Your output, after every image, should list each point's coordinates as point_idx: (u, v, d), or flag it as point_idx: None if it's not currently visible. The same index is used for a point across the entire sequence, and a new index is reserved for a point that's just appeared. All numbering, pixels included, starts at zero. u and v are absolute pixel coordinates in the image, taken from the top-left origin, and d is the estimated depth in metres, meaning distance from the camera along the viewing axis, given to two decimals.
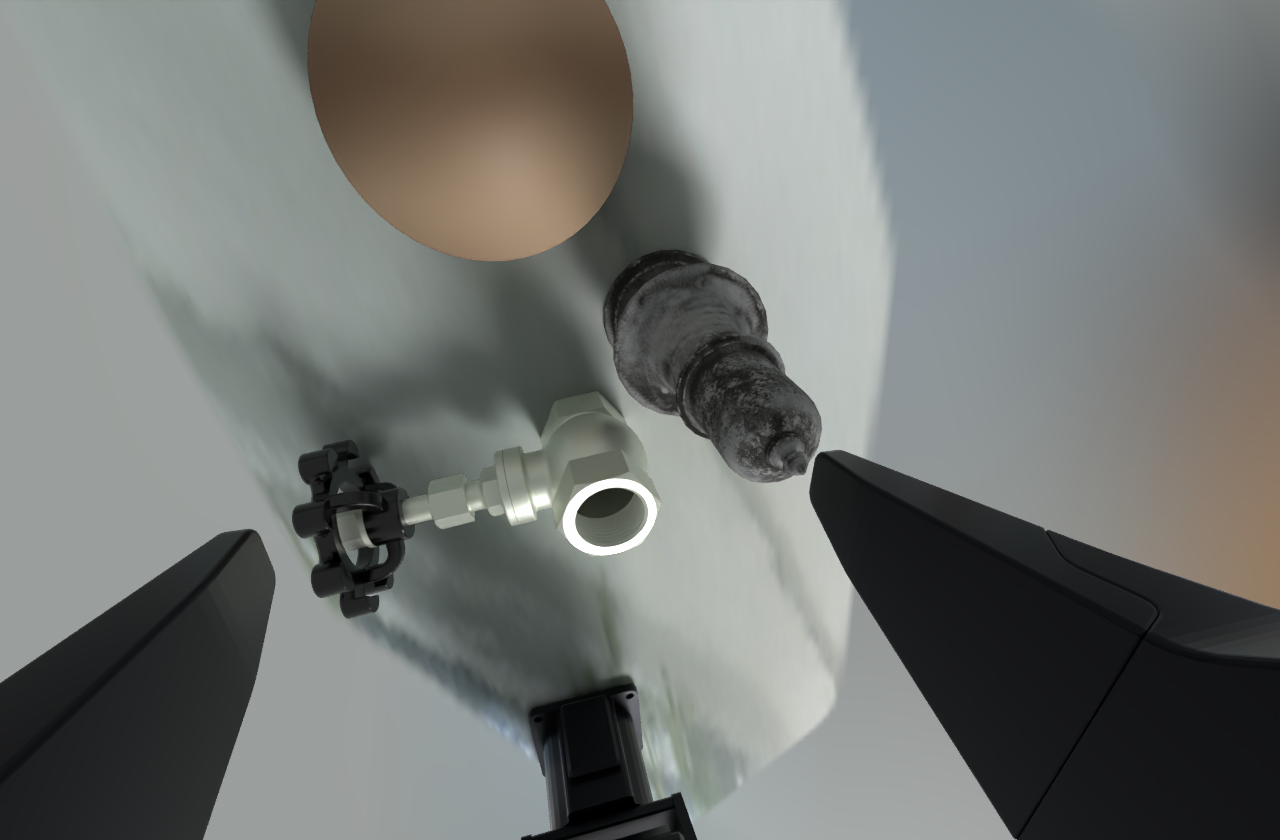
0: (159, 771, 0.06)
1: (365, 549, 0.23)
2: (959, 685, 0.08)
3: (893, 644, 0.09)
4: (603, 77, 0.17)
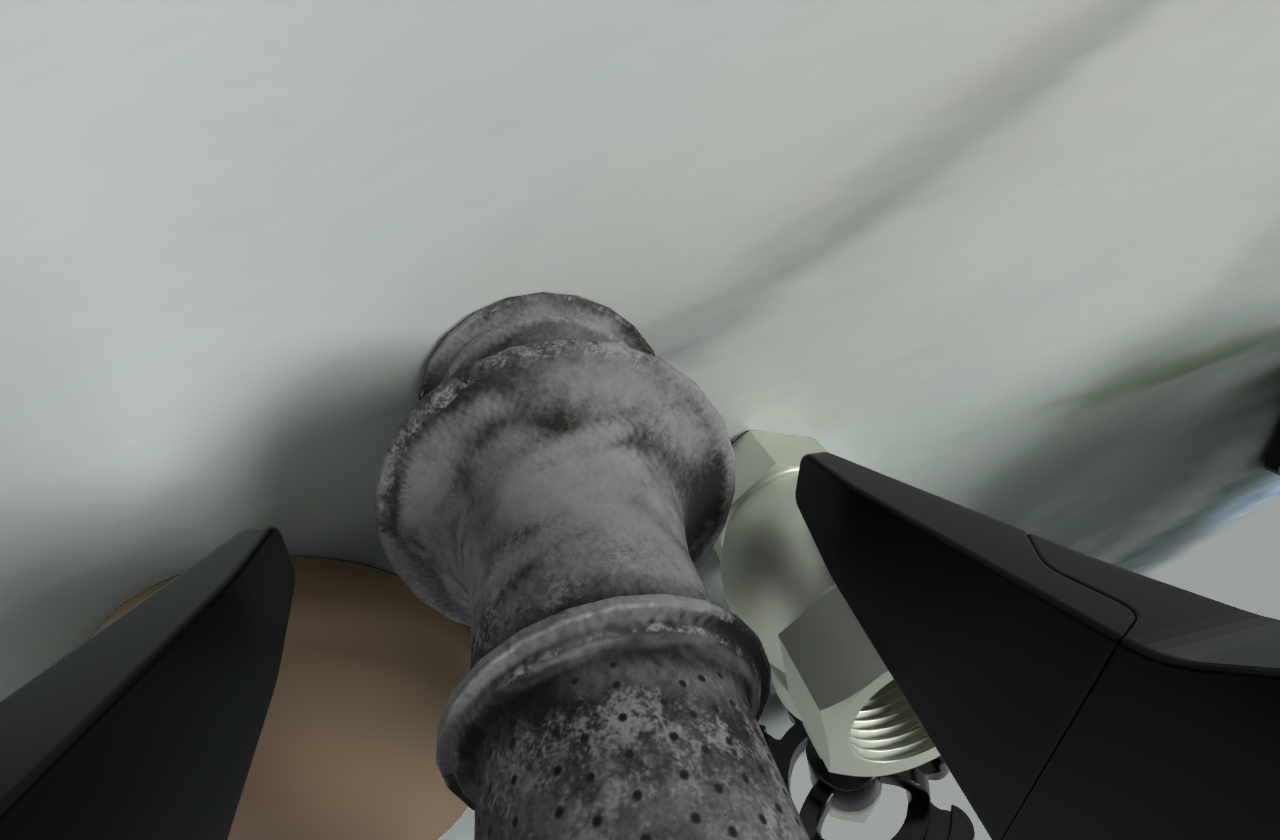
0: (189, 765, 0.06)
1: None
2: (941, 690, 0.07)
3: (877, 648, 0.09)
4: None
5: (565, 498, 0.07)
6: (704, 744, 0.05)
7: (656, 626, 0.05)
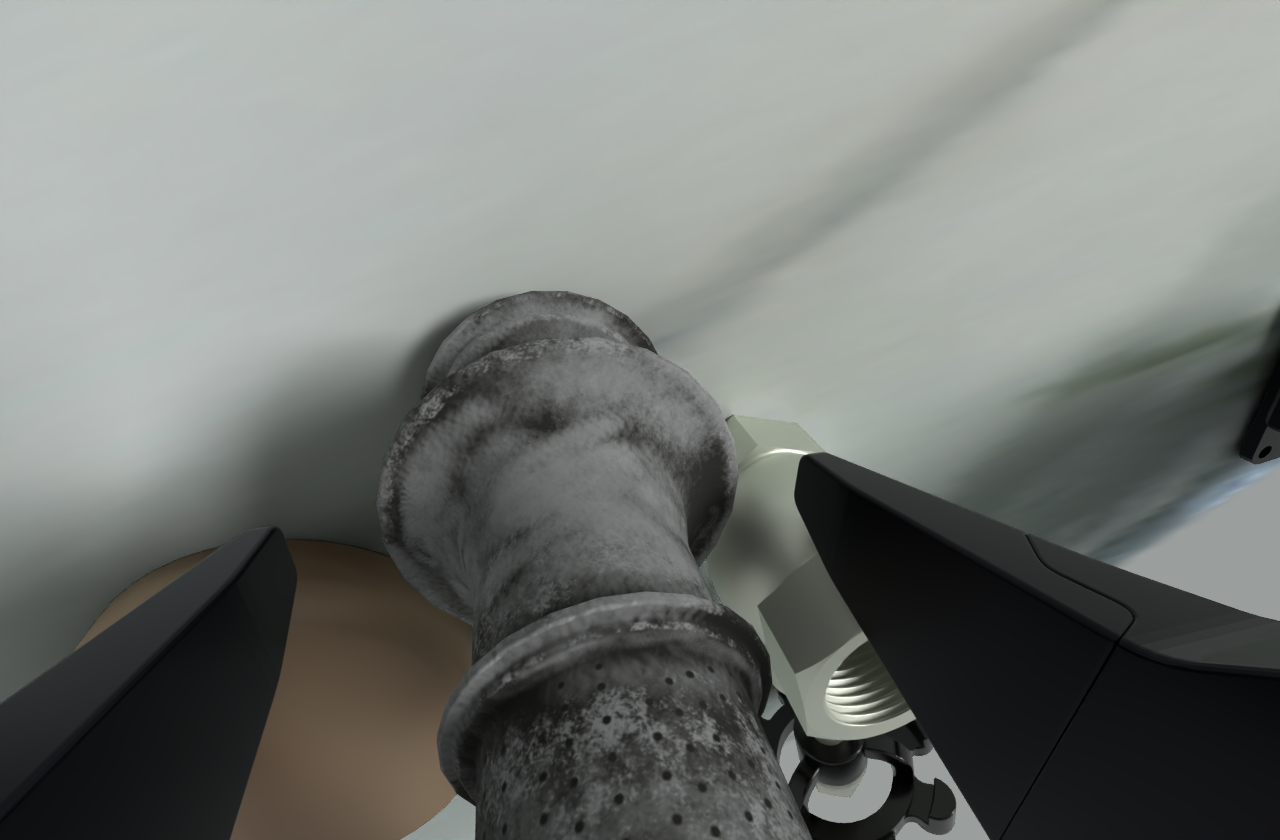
0: (192, 764, 0.06)
1: None
2: (939, 690, 0.07)
3: (875, 648, 0.09)
4: None
5: (554, 500, 0.07)
6: (689, 743, 0.05)
7: (641, 624, 0.05)
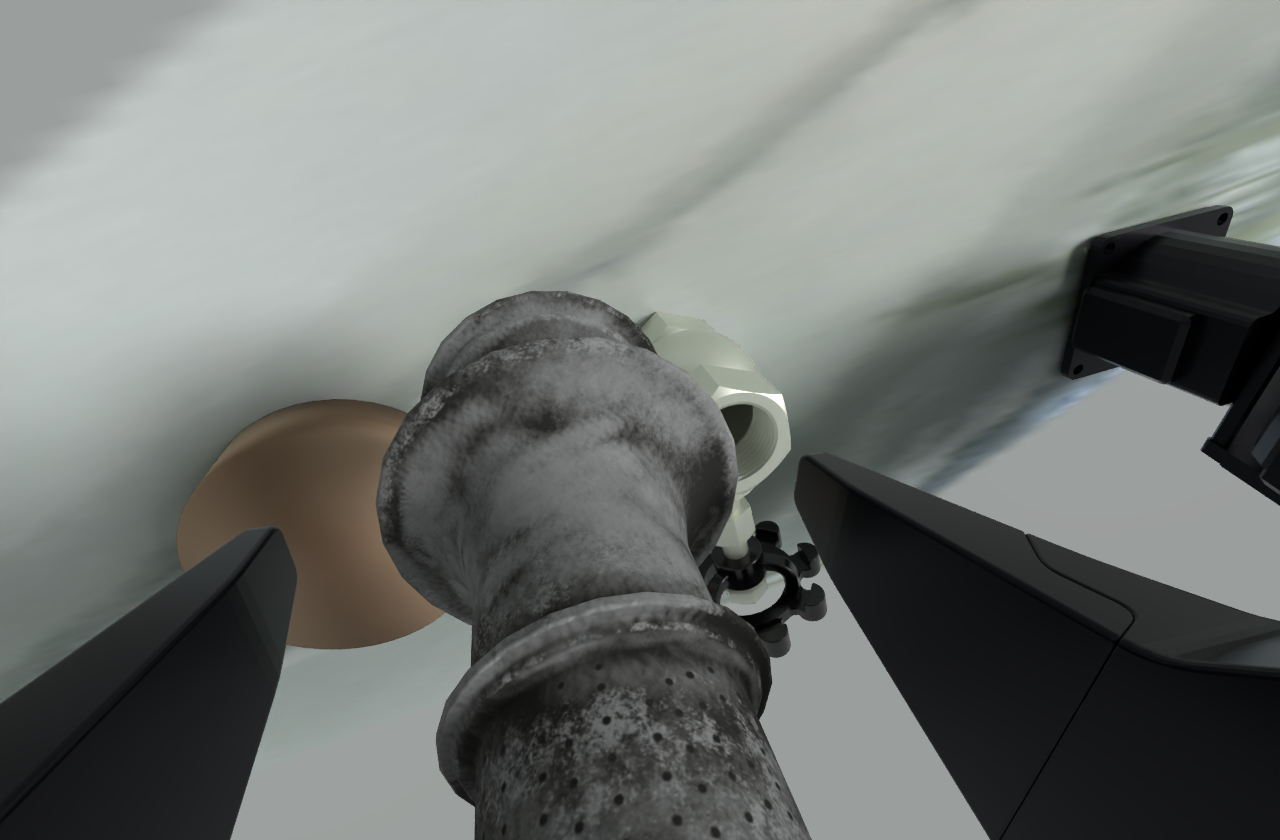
0: (192, 764, 0.06)
1: None
2: (939, 690, 0.07)
3: (875, 648, 0.09)
4: (270, 471, 0.17)
5: (554, 500, 0.07)
6: (689, 744, 0.04)
7: (642, 624, 0.05)
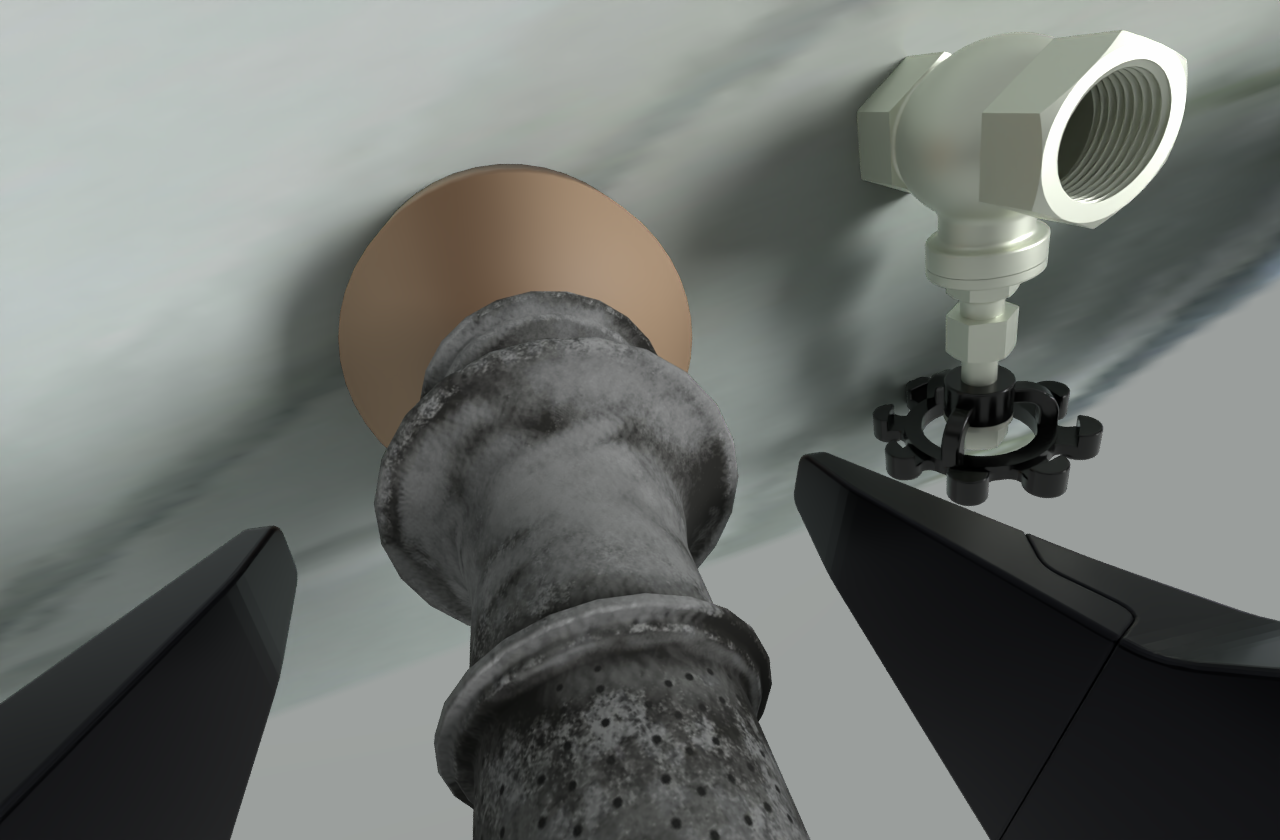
0: (192, 764, 0.06)
1: None
2: (939, 690, 0.07)
3: (875, 648, 0.09)
4: (466, 222, 0.13)
5: (554, 500, 0.07)
6: (688, 746, 0.04)
7: (641, 626, 0.05)
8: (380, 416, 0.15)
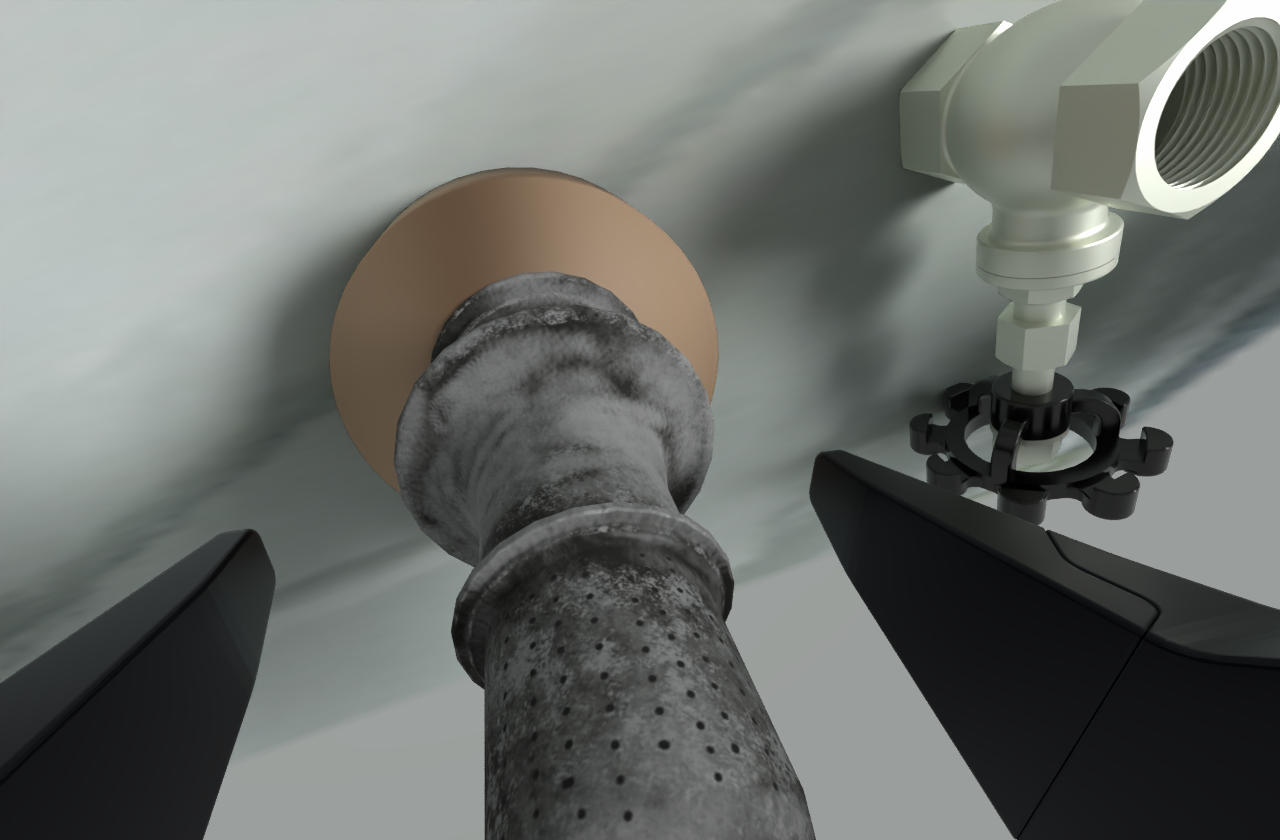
0: (159, 771, 0.06)
1: None
2: (959, 685, 0.08)
3: (893, 644, 0.09)
4: (471, 233, 0.12)
5: (620, 441, 0.09)
6: (725, 634, 0.06)
7: (700, 549, 0.07)
8: (376, 445, 0.13)
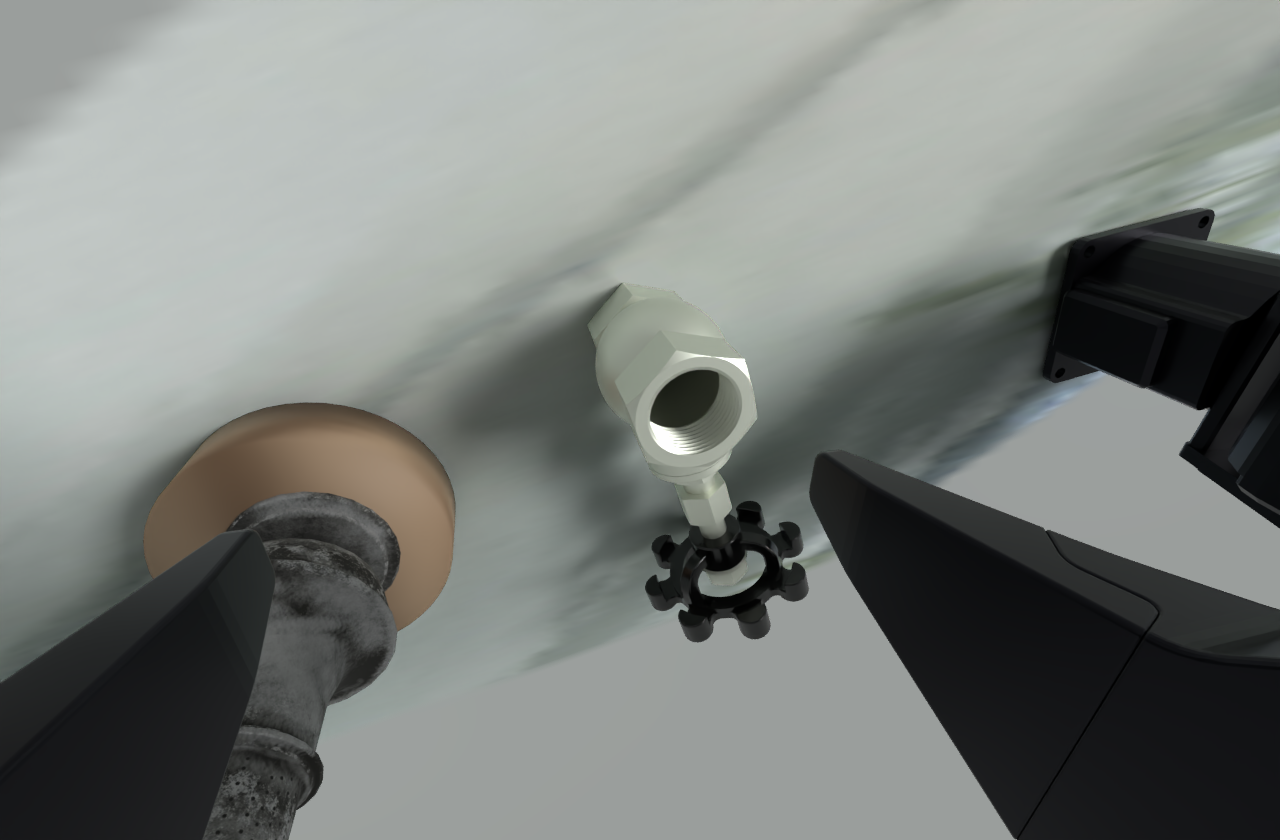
0: (159, 771, 0.06)
1: None
2: (959, 685, 0.08)
3: (893, 644, 0.09)
4: (237, 475, 0.17)
5: (278, 657, 0.14)
6: (262, 806, 0.11)
7: (277, 748, 0.12)
8: None
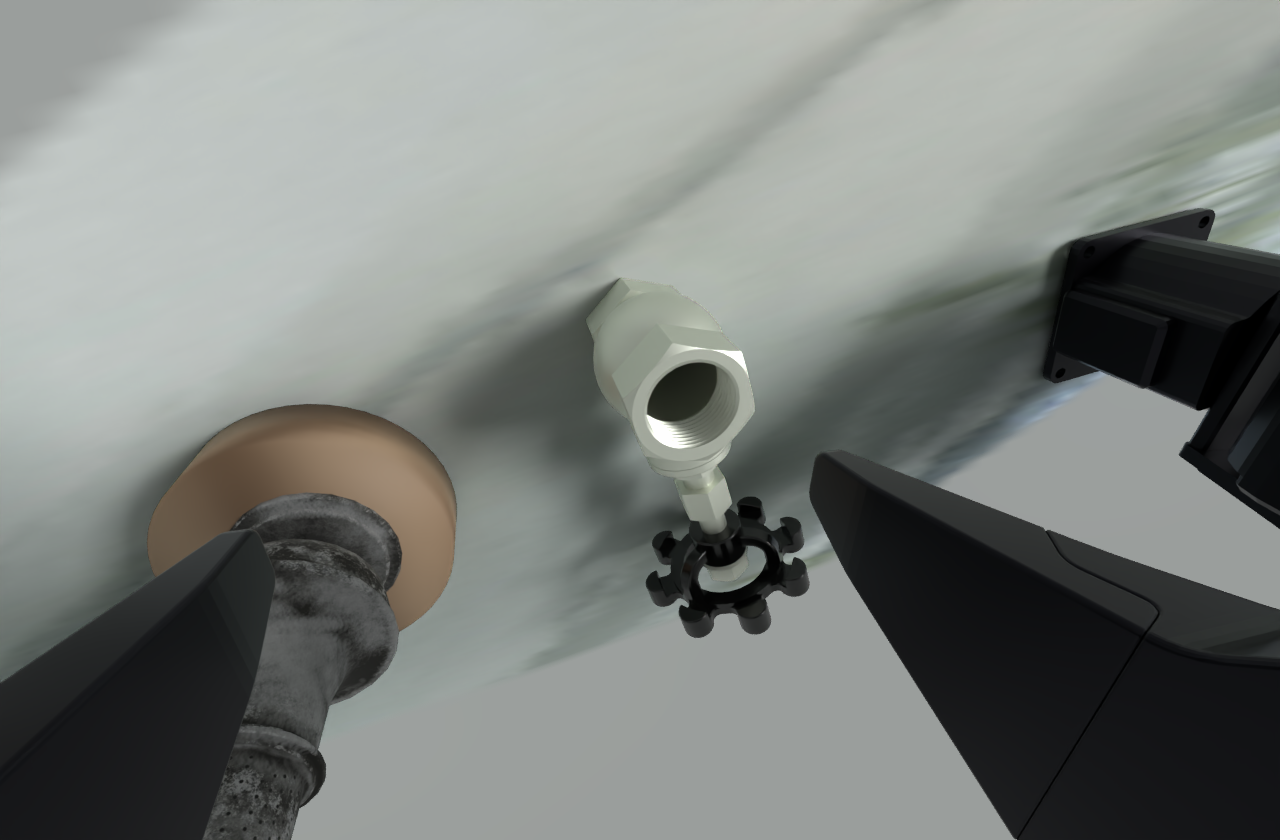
0: (159, 771, 0.06)
1: None
2: (959, 685, 0.08)
3: (893, 644, 0.09)
4: (239, 476, 0.17)
5: (281, 656, 0.14)
6: (266, 804, 0.12)
7: (280, 746, 0.12)
8: None
